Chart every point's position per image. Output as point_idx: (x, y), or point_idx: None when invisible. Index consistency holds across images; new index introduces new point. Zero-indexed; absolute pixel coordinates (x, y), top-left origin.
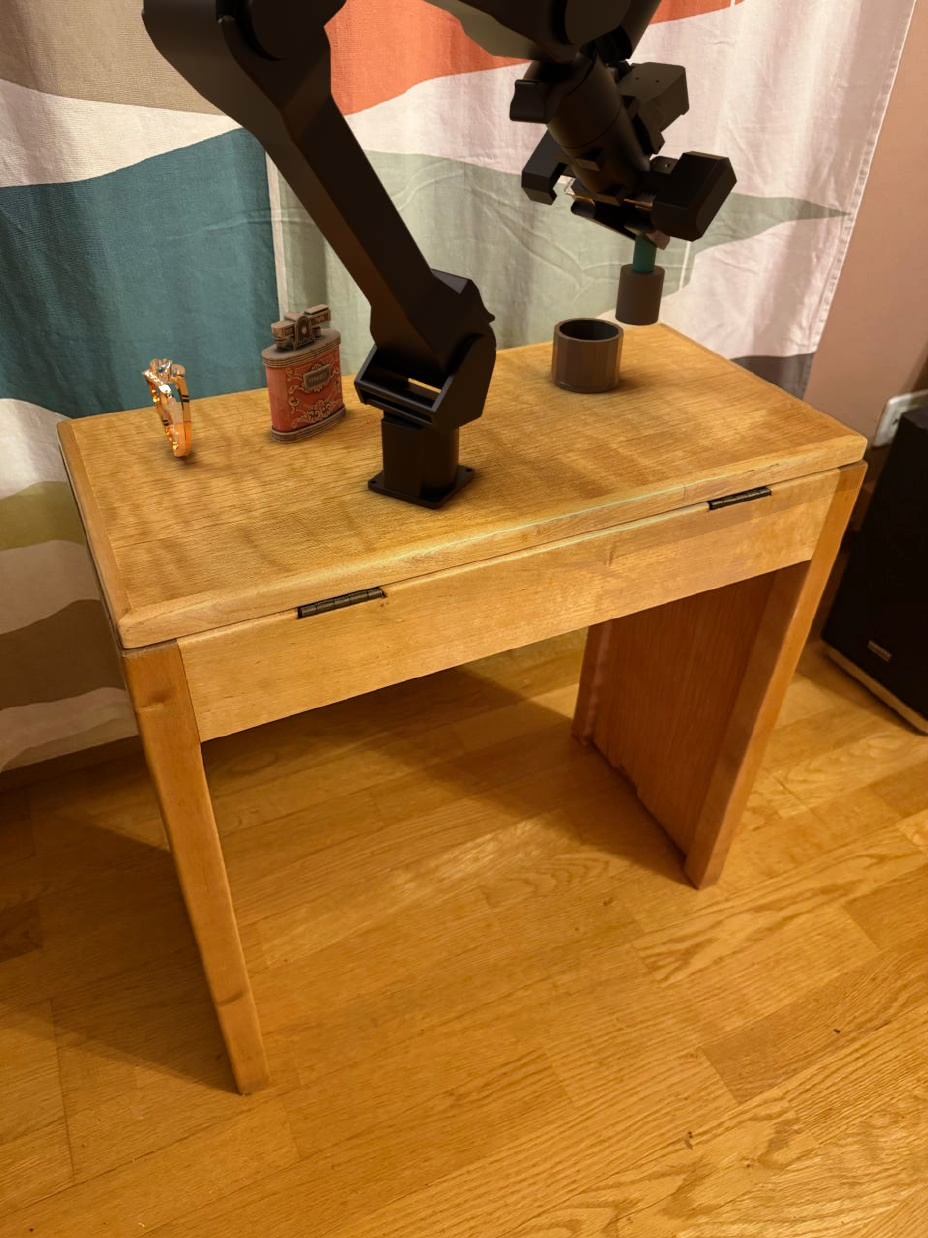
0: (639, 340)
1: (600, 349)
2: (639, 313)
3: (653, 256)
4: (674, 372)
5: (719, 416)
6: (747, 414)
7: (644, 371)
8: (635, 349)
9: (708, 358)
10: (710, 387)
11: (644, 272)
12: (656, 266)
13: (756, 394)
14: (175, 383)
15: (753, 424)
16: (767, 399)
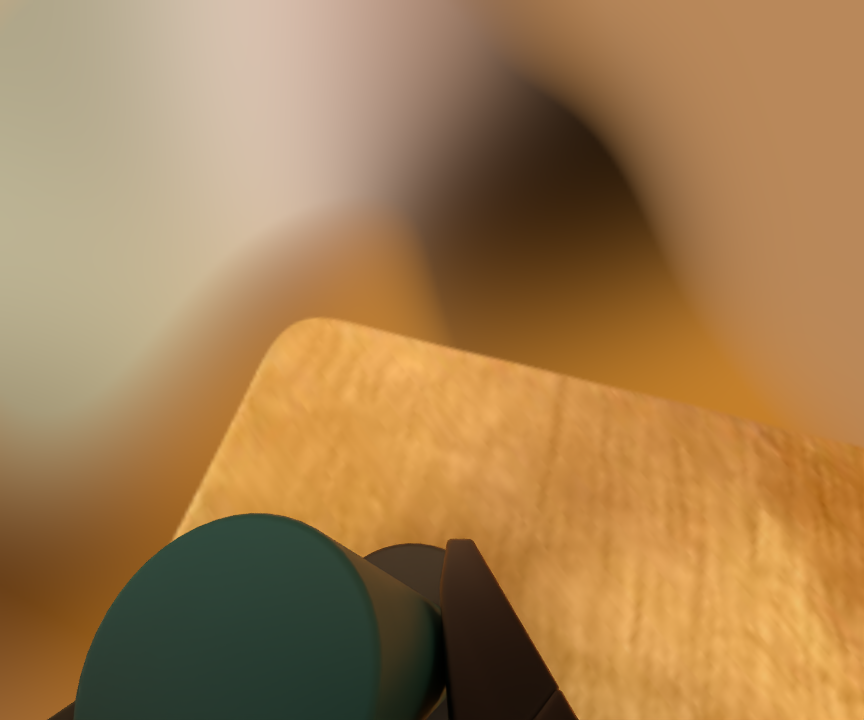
0: (311, 398)
1: None
2: None
3: None
4: (479, 487)
5: (736, 634)
6: (761, 565)
7: (427, 539)
8: (334, 446)
9: (477, 367)
10: (591, 496)
11: (446, 698)
12: (426, 563)
13: (681, 449)
14: None
15: (818, 607)
16: (716, 453)
